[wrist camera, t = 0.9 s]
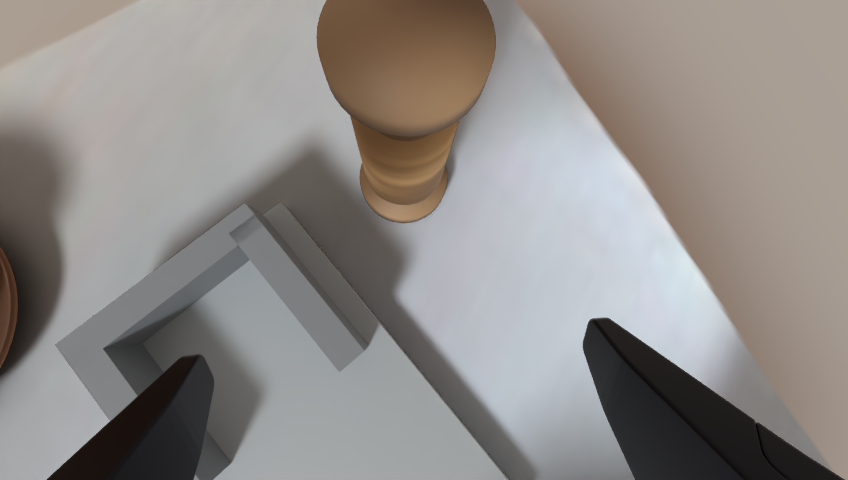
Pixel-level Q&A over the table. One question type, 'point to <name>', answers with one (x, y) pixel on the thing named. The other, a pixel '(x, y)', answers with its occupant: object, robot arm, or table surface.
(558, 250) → the table surface
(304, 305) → the board
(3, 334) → the cup and saucer
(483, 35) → the bobbin
